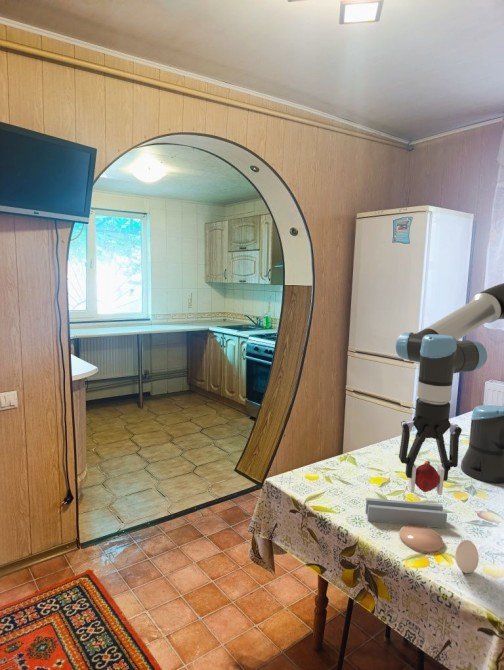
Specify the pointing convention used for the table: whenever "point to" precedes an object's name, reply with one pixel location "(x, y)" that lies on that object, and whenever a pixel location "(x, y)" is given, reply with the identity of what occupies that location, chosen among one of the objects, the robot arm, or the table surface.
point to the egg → (467, 556)
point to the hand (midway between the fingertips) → (424, 490)
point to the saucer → (421, 538)
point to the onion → (426, 477)
